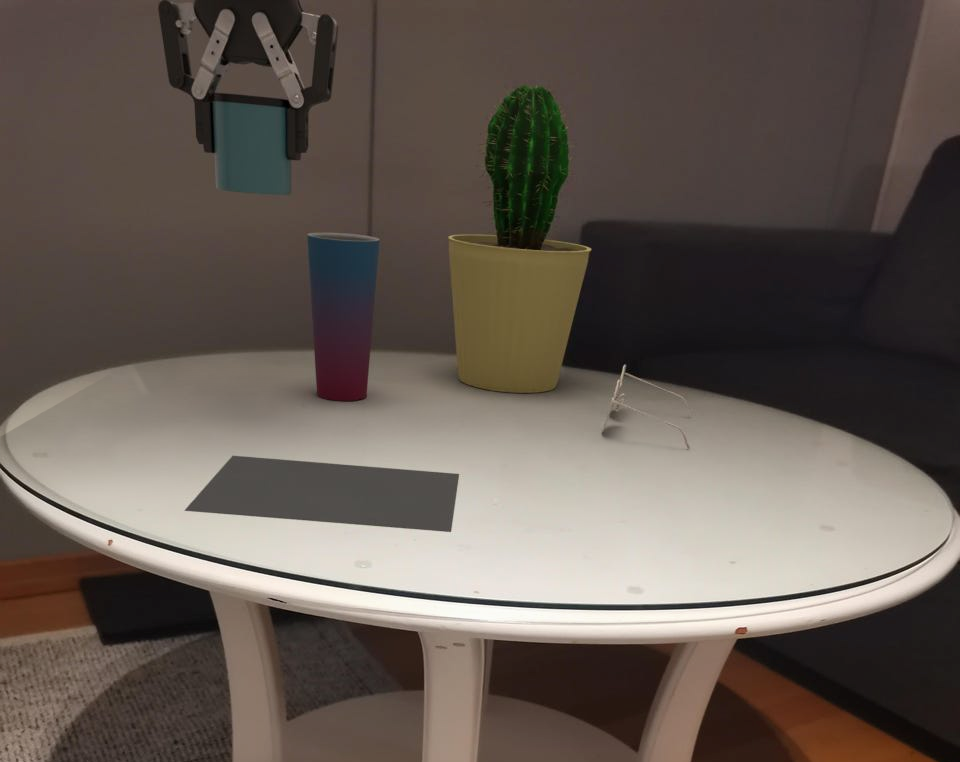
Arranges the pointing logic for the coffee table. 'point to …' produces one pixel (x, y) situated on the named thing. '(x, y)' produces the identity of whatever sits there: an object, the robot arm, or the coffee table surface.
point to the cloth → (331, 493)
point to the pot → (251, 144)
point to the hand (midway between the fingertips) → (252, 155)
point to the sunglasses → (620, 404)
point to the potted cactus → (518, 256)
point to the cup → (342, 311)
